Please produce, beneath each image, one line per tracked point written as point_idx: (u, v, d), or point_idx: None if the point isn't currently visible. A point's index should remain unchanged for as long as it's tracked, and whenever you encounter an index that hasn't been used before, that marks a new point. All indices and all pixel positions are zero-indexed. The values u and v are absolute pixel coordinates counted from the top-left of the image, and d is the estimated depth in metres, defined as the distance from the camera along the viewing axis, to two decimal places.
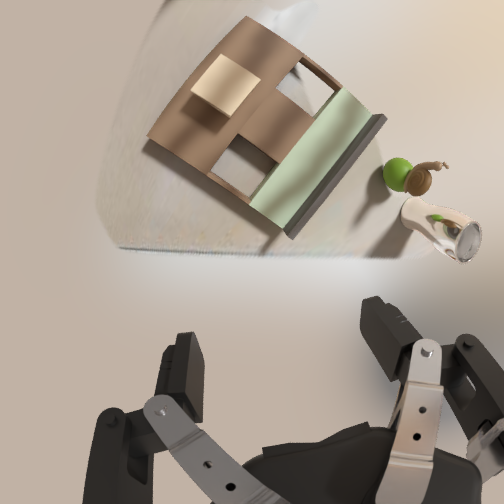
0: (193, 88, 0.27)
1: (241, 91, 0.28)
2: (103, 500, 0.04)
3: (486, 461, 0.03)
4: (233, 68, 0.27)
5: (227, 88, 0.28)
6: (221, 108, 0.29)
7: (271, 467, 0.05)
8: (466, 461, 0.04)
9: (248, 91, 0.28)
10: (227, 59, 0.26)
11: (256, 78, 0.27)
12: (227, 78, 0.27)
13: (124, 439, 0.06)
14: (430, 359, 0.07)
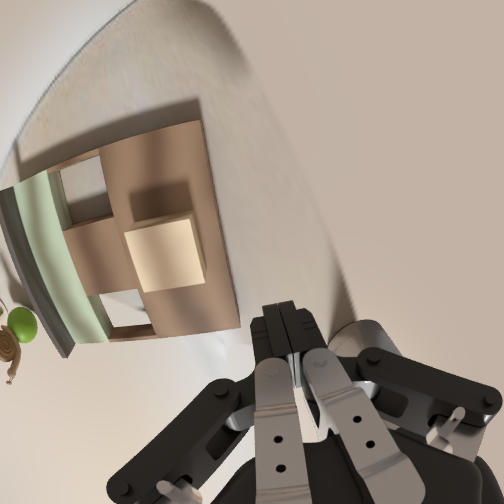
0: (188, 223, 0.22)
1: (143, 265, 0.23)
2: (160, 461, 0.06)
3: (462, 446, 0.04)
4: (177, 279, 0.24)
5: (157, 255, 0.22)
6: (139, 230, 0.22)
7: None
8: (466, 461, 0.04)
9: (138, 271, 0.23)
10: (192, 283, 0.24)
11: (148, 289, 0.24)
12: (169, 264, 0.23)
13: (223, 416, 0.07)
14: (318, 370, 0.08)
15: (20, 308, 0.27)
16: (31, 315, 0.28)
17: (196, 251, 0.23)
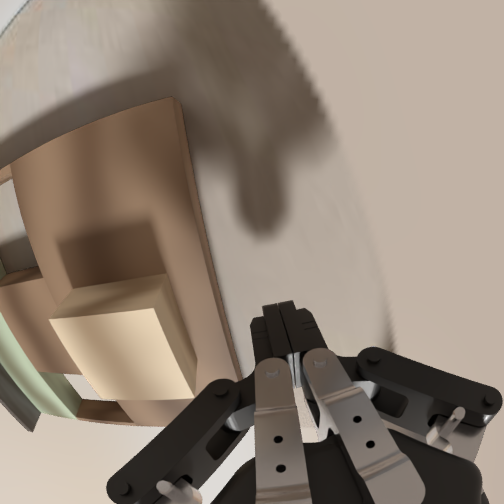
0: (152, 315, 0.10)
1: (91, 369, 0.11)
2: (160, 461, 0.06)
3: (462, 446, 0.04)
4: (147, 391, 0.12)
5: (108, 358, 0.11)
6: (70, 320, 0.10)
7: None
8: (466, 461, 0.04)
9: (85, 374, 0.11)
10: (173, 397, 0.12)
11: (106, 396, 0.12)
12: (130, 372, 0.11)
13: (223, 416, 0.07)
14: (318, 370, 0.08)
15: None
16: None
17: (174, 358, 0.11)
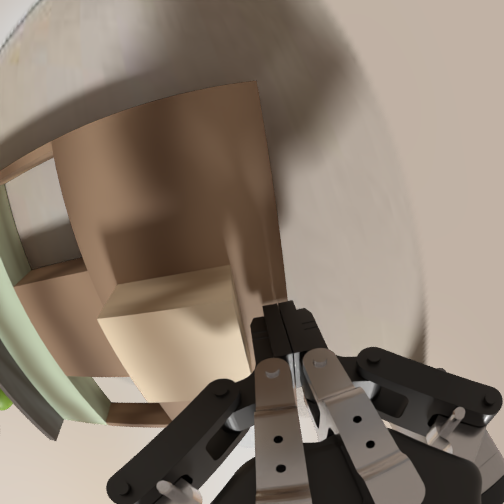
0: (229, 308, 0.10)
1: (142, 371, 0.11)
2: (160, 461, 0.06)
3: (462, 446, 0.04)
4: None
5: (167, 358, 0.11)
6: (126, 318, 0.10)
7: None
8: (466, 461, 0.04)
9: (134, 377, 0.11)
10: None
11: (154, 400, 0.12)
12: (190, 371, 0.12)
13: (223, 416, 0.07)
14: (318, 370, 0.08)
15: None
16: None
17: (243, 352, 0.11)
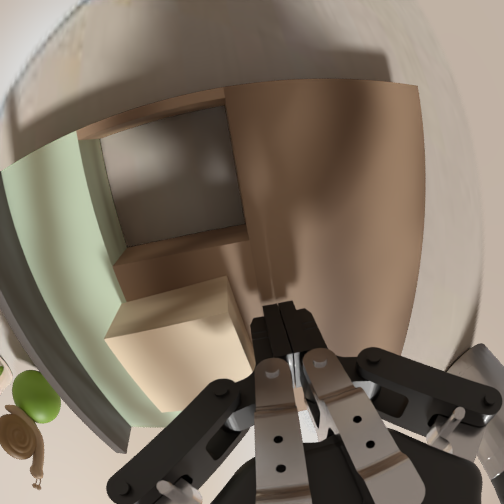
0: (226, 319, 0.11)
1: (152, 383, 0.12)
2: (160, 461, 0.06)
3: (463, 446, 0.04)
4: None
5: (173, 370, 0.11)
6: (130, 336, 0.11)
7: None
8: (466, 461, 0.04)
9: (145, 390, 0.12)
10: None
11: (167, 409, 0.13)
12: (197, 381, 0.12)
13: (223, 415, 0.07)
14: (318, 370, 0.08)
15: (30, 374, 0.16)
16: (49, 384, 0.17)
17: (246, 360, 0.12)
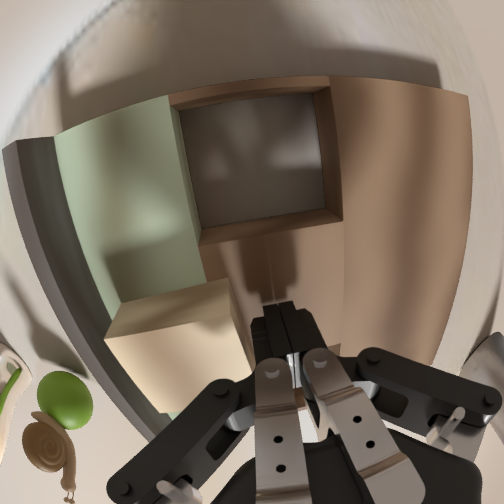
0: (228, 321, 0.11)
1: (151, 384, 0.12)
2: (160, 461, 0.06)
3: (462, 446, 0.04)
4: None
5: (173, 371, 0.11)
6: (131, 337, 0.10)
7: None
8: (466, 461, 0.04)
9: (144, 391, 0.12)
10: None
11: (166, 410, 0.13)
12: (197, 382, 0.12)
13: (223, 415, 0.07)
14: (318, 370, 0.08)
15: (59, 376, 0.16)
16: (81, 386, 0.17)
17: (246, 362, 0.12)
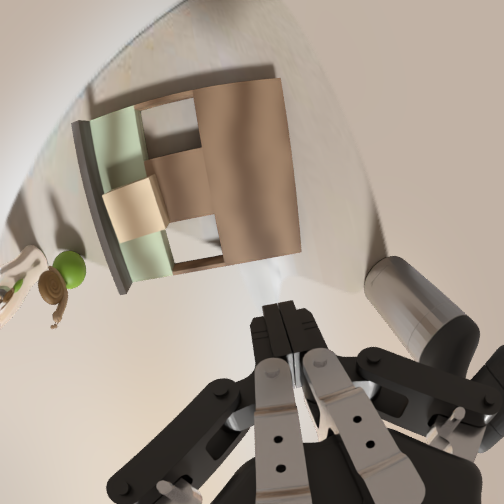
0: (148, 181, 0.26)
1: (118, 220, 0.28)
2: (160, 461, 0.06)
3: (463, 446, 0.04)
4: (144, 228, 0.28)
5: (127, 209, 0.27)
6: (113, 192, 0.26)
7: None
8: (466, 461, 0.04)
9: (114, 225, 0.28)
10: (155, 230, 0.29)
11: (122, 240, 0.29)
12: (136, 216, 0.28)
13: (223, 415, 0.07)
14: (318, 370, 0.08)
15: (69, 251, 0.32)
16: (81, 258, 0.33)
17: (156, 203, 0.28)
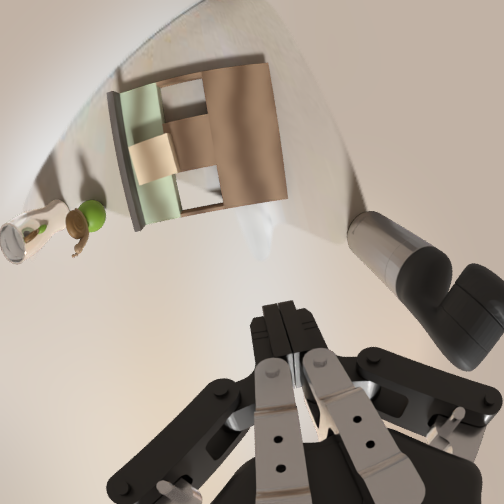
0: (166, 135, 0.34)
1: (139, 166, 0.35)
2: (160, 461, 0.06)
3: (462, 446, 0.04)
4: (160, 172, 0.36)
5: (148, 158, 0.34)
6: (137, 144, 0.34)
7: None
8: (466, 461, 0.04)
9: (136, 171, 0.35)
10: (169, 173, 0.36)
11: (142, 183, 0.36)
12: (155, 163, 0.35)
13: (223, 415, 0.07)
14: (318, 370, 0.08)
15: (93, 200, 0.39)
16: None
17: (171, 152, 0.35)
